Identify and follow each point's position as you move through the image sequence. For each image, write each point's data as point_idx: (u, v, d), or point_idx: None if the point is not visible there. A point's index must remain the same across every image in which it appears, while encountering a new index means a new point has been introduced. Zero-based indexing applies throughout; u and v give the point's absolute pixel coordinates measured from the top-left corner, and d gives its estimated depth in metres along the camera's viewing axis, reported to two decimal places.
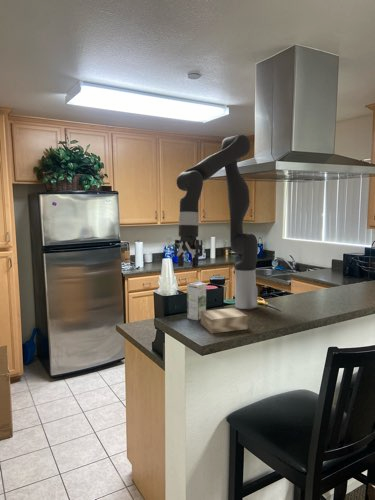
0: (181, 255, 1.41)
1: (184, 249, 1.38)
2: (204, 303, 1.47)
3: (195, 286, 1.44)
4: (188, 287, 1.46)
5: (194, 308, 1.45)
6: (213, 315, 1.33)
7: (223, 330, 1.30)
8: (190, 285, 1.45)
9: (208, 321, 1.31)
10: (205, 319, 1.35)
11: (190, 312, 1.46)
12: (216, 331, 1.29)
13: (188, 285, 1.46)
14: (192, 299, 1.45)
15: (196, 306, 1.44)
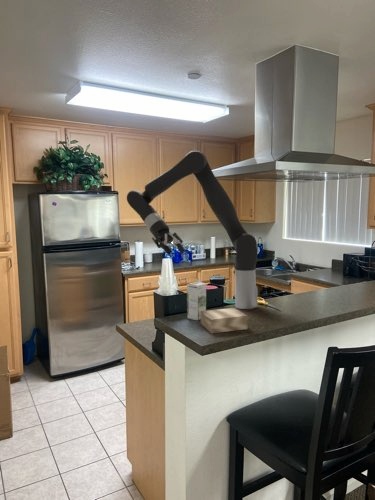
0: (178, 244, 1.57)
1: None
2: (204, 303, 1.47)
3: (195, 286, 1.44)
4: (188, 287, 1.46)
5: (194, 308, 1.45)
6: (213, 315, 1.33)
7: (223, 330, 1.30)
8: (190, 285, 1.45)
9: (208, 321, 1.31)
10: (205, 319, 1.35)
11: (190, 312, 1.46)
12: (216, 331, 1.29)
13: (188, 285, 1.46)
14: (192, 299, 1.45)
15: (196, 306, 1.44)
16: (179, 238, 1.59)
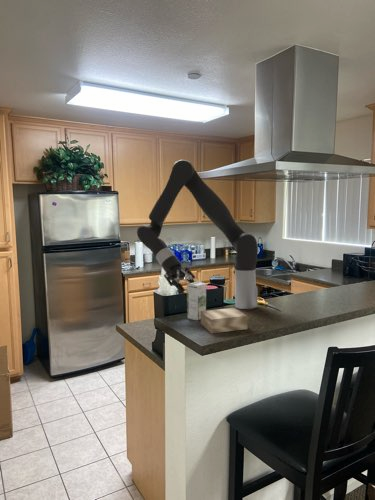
0: (190, 280, 1.54)
1: None
2: (204, 303, 1.47)
3: (195, 286, 1.44)
4: (188, 287, 1.46)
5: (194, 308, 1.45)
6: (213, 315, 1.33)
7: (223, 330, 1.30)
8: (190, 285, 1.45)
9: (208, 321, 1.31)
10: (205, 319, 1.35)
11: (190, 312, 1.46)
12: (216, 331, 1.29)
13: (188, 285, 1.46)
14: (192, 299, 1.45)
15: (196, 306, 1.44)
16: (191, 273, 1.56)
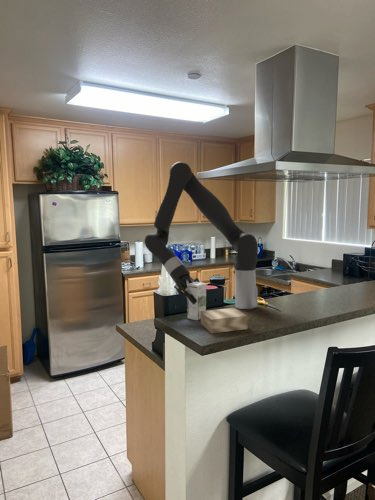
0: None
1: None
2: (204, 303, 1.47)
3: (195, 286, 1.44)
4: None
5: (194, 308, 1.45)
6: (213, 315, 1.33)
7: (223, 330, 1.30)
8: (190, 285, 1.45)
9: (208, 321, 1.31)
10: (205, 319, 1.35)
11: (190, 312, 1.46)
12: (216, 331, 1.29)
13: (188, 285, 1.46)
14: None
15: (196, 306, 1.44)
16: None
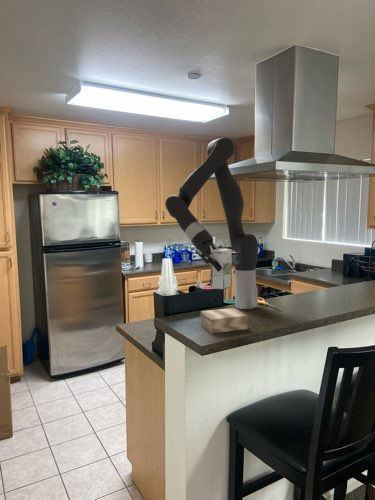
0: None
1: None
2: (229, 271, 1.34)
3: (220, 251, 1.31)
4: None
5: (219, 276, 1.32)
6: (213, 315, 1.33)
7: (223, 330, 1.30)
8: (214, 251, 1.32)
9: (208, 321, 1.31)
10: (205, 319, 1.35)
11: (214, 281, 1.34)
12: (216, 331, 1.29)
13: (212, 251, 1.33)
14: None
15: (221, 273, 1.31)
16: None
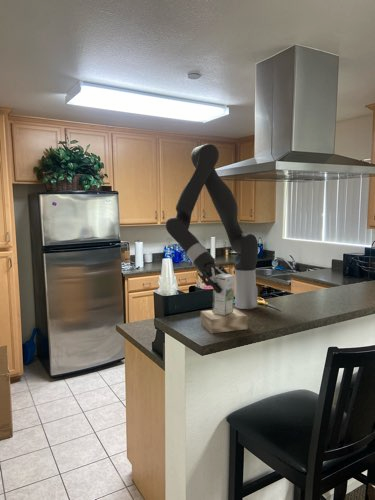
0: None
1: None
2: (231, 297, 1.35)
3: (223, 278, 1.31)
4: (215, 279, 1.34)
5: (221, 302, 1.33)
6: (213, 315, 1.33)
7: (223, 330, 1.30)
8: (217, 277, 1.33)
9: (208, 321, 1.31)
10: (205, 319, 1.35)
11: (216, 306, 1.34)
12: (216, 331, 1.29)
13: (215, 277, 1.34)
14: None
15: (223, 299, 1.32)
16: (226, 272, 1.41)
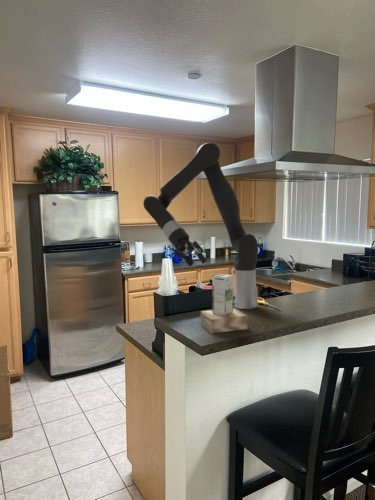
0: (198, 254, 1.46)
1: None
2: (231, 297, 1.35)
3: (222, 278, 1.31)
4: (214, 279, 1.34)
5: (221, 303, 1.33)
6: (213, 315, 1.33)
7: (223, 330, 1.30)
8: (216, 277, 1.33)
9: (208, 321, 1.31)
10: (205, 319, 1.35)
11: (215, 307, 1.34)
12: (216, 331, 1.29)
13: (214, 277, 1.34)
14: (218, 292, 1.33)
15: (223, 299, 1.32)
16: (200, 247, 1.48)
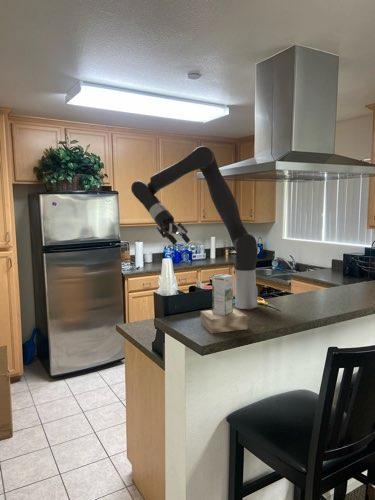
0: (182, 234, 1.57)
1: None
2: (231, 297, 1.35)
3: (222, 278, 1.31)
4: (214, 279, 1.34)
5: (221, 303, 1.33)
6: (213, 315, 1.33)
7: (223, 330, 1.30)
8: (216, 277, 1.33)
9: (208, 321, 1.31)
10: (205, 319, 1.35)
11: (215, 307, 1.34)
12: (216, 331, 1.29)
13: (214, 277, 1.34)
14: (218, 292, 1.33)
15: (223, 299, 1.32)
16: (184, 228, 1.59)
